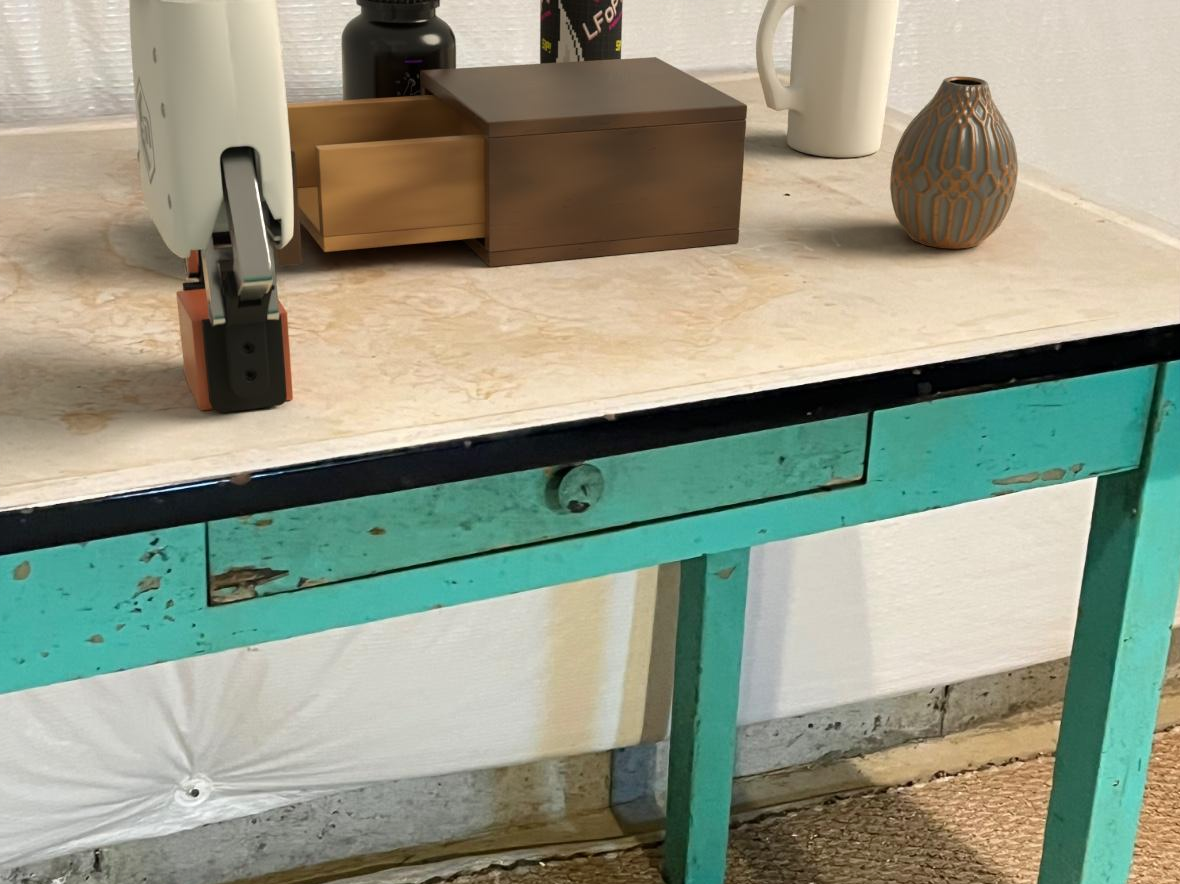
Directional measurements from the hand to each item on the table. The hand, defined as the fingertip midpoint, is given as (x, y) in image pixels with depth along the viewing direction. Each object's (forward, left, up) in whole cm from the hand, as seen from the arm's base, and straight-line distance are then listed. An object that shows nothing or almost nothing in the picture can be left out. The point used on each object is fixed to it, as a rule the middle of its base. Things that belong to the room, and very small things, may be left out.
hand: (237, 382), depth 74 cm
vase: (+42, +10, 0) cm, 43 cm away
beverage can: (+33, +45, 0) cm, 56 cm away
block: (0, 0, 0) cm, 0 cm away
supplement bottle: (+16, +31, 0) cm, 35 cm away
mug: (+44, +30, 0) cm, 53 cm away
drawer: (+9, +19, +1) cm, 21 cm away
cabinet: (+23, +19, 0) cm, 30 cm away
